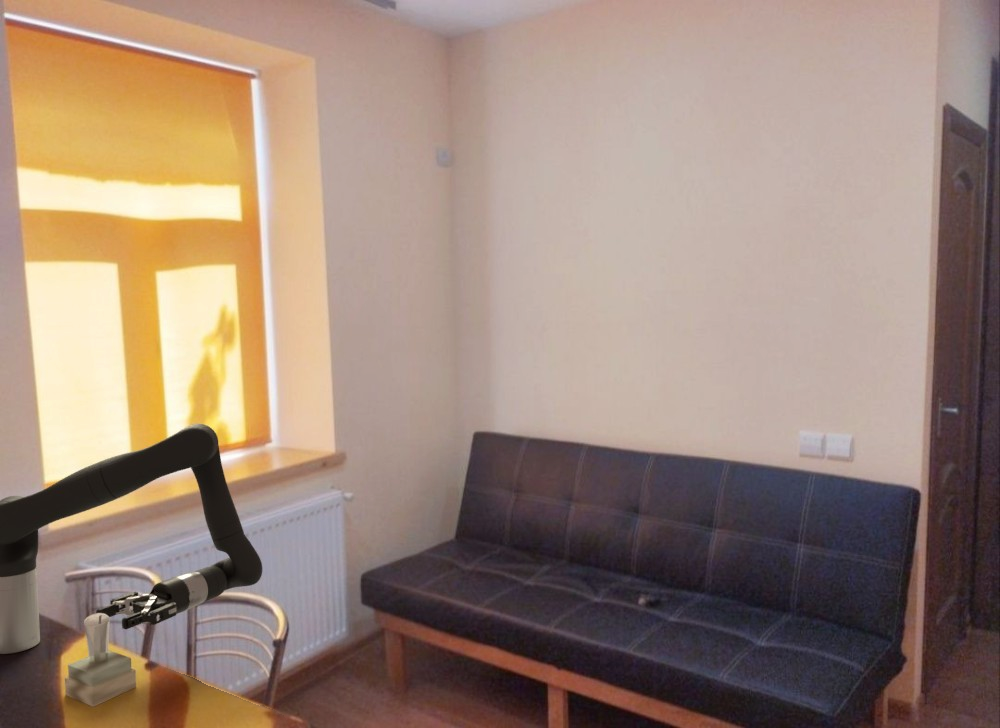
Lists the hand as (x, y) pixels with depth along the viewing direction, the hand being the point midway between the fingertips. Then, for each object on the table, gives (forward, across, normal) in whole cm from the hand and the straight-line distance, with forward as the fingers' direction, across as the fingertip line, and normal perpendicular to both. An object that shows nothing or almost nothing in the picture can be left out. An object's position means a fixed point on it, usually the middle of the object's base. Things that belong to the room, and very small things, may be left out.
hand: (110, 620), depth 157 cm
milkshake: (+2, 0, +8) cm, 8 cm away
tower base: (+3, 0, +14) cm, 14 cm away
